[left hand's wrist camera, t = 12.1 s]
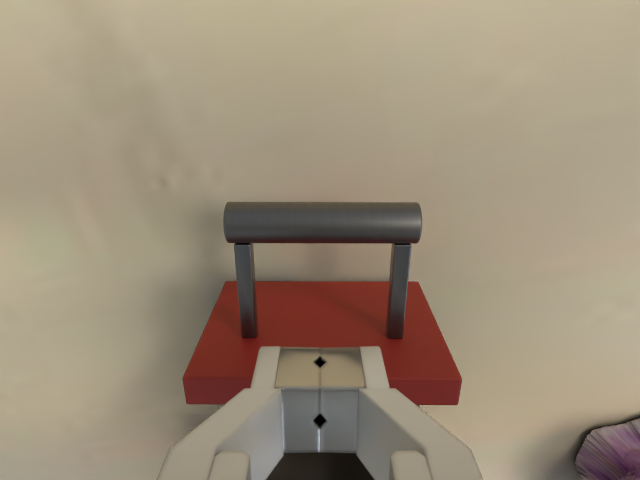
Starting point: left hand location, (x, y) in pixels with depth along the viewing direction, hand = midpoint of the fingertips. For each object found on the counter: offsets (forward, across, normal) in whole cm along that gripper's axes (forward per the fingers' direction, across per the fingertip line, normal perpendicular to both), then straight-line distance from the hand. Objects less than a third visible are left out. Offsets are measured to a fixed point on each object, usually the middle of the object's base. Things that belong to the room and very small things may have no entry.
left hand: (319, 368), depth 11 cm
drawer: (+10, 0, -8) cm, 13 cm away
